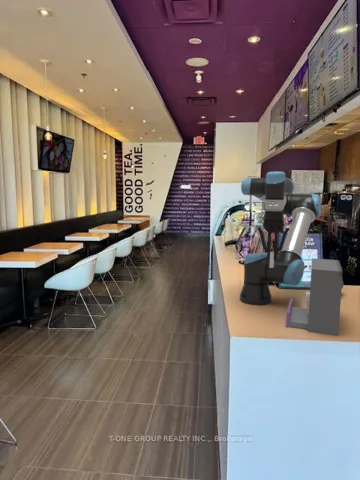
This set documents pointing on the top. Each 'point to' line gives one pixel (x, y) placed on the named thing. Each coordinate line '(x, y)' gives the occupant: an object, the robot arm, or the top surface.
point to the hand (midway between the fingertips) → (271, 267)
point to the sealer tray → (296, 316)
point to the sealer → (325, 296)
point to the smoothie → (308, 300)
